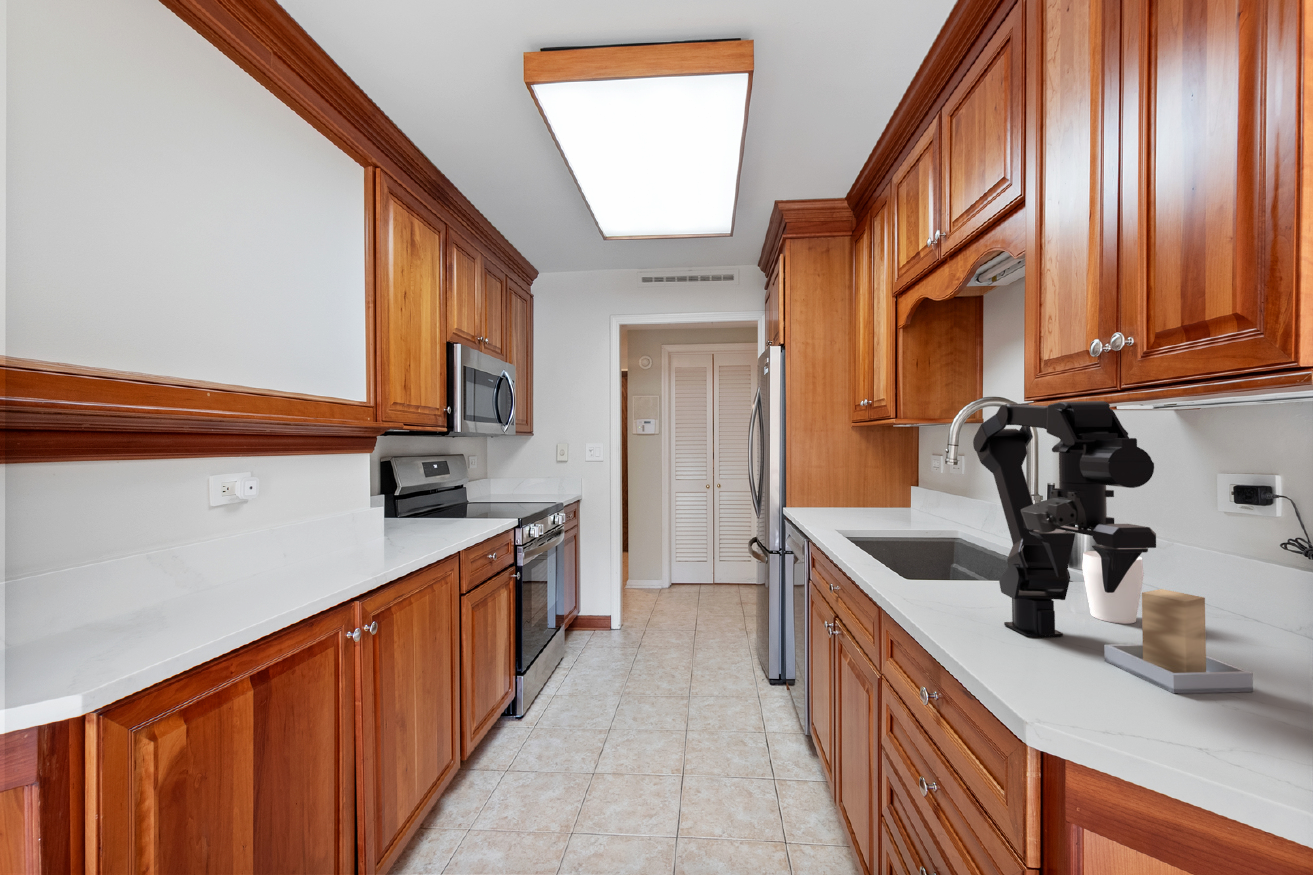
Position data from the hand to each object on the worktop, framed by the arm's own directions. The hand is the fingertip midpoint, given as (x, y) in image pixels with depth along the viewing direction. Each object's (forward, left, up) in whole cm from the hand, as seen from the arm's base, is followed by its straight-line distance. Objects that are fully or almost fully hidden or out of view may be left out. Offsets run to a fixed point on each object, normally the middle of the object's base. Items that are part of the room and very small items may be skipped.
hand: (1083, 584), depth 84 cm
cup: (-20, +22, -12) cm, 32 cm away
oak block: (+5, +9, -11) cm, 15 cm away
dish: (+5, +9, -12) cm, 16 cm away
